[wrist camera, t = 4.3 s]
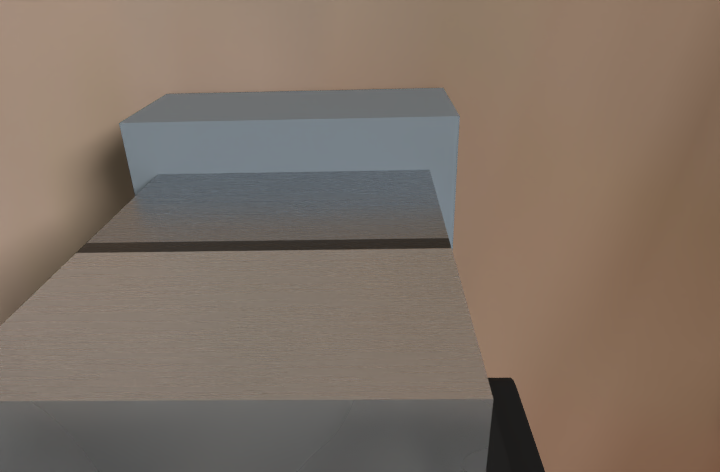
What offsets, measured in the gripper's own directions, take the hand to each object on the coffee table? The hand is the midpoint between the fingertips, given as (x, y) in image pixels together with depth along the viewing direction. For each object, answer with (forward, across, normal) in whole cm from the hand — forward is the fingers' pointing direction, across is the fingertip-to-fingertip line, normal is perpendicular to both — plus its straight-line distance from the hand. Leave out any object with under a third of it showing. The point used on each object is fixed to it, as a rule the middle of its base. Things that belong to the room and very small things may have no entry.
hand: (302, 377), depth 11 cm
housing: (+1, 0, 0) cm, 1 cm away
